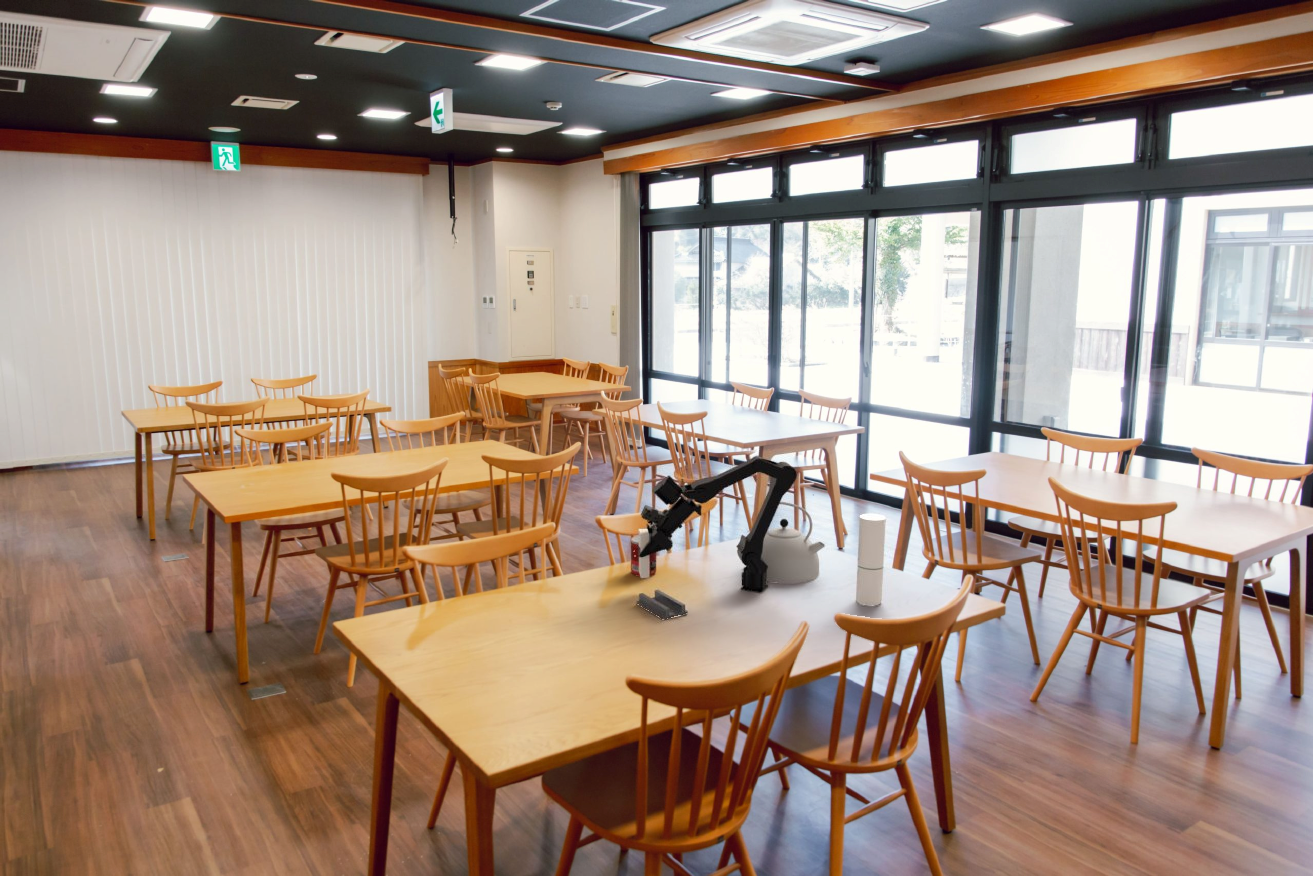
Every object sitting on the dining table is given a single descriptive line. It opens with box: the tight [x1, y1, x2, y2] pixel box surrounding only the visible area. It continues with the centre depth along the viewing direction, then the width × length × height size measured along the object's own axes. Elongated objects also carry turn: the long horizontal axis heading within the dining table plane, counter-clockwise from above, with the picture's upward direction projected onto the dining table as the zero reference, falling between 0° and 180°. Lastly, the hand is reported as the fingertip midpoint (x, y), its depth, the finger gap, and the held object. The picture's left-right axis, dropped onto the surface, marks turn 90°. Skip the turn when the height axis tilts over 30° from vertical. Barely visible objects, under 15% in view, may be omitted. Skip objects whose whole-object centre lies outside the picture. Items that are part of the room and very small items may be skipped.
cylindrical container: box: [855, 513, 887, 605], centre depth 254 cm, size 7×7×25 cm
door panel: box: [638, 528, 650, 579], centre depth 261 cm, size 3×6×13 cm, turn 6°
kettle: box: [761, 501, 826, 584], centre depth 280 cm, size 25×23×23 cm
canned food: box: [630, 535, 657, 577], centre depth 280 cm, size 8×8×11 cm
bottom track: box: [636, 589, 689, 620], centre depth 250 cm, size 8×14×3 cm, turn 32°
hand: (639, 553), depth 261 cm, fingers closed on door panel, 6 cm apart
